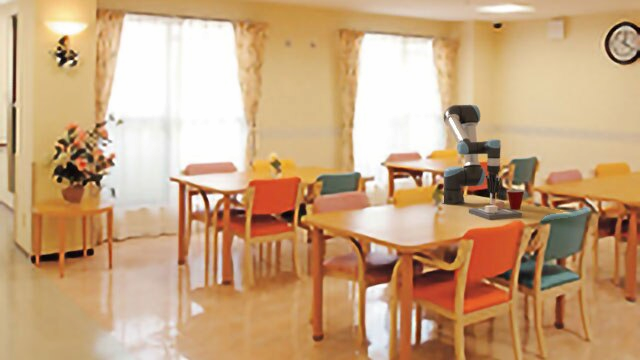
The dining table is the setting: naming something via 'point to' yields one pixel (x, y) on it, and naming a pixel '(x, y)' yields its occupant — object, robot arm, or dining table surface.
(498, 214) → the slider panel
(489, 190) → the robot arm
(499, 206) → the fader
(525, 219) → the dining table surface
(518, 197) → the plastic cup
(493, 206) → the fader
